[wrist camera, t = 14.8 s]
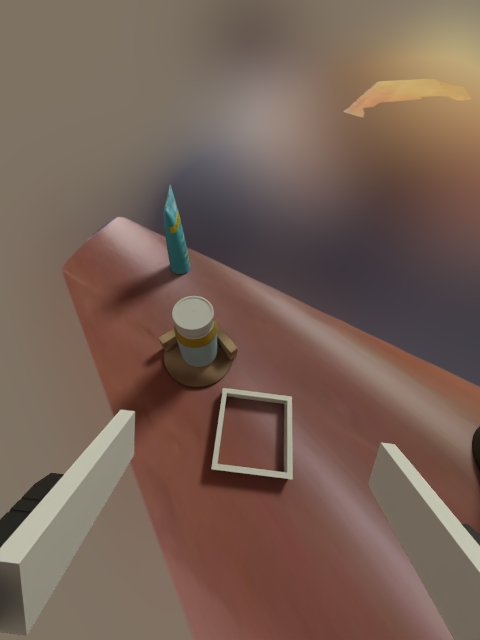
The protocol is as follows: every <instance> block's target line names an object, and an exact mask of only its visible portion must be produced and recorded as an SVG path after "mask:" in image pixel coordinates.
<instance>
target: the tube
mask: <svg viewBox="0 0 480 640" xmlns="http://www.w3.org/2000/svg"><path fill="white" fill-rule="evenodd" d="M164 226H165V235H166V242H167V249H168V255H169V261H170V267H171V270H172V272H174V273H176V274H185V273H187V272H188V271H189V269H190V263H189V257H188V252H187V247H186V243H185V238H184V234H183V229H182V225H181V221H180V216H179V212H178V209H177V205H176V202H175V198H174V195H173V192H172V189H171V185H170V187H169V192H168V195H167V199H166V203H165V207H164Z"/></svg>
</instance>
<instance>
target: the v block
mask: <svg viewBox="0 0 480 640" xmlns="http://www.w3.org/2000/svg"><path fill="white" fill-rule="evenodd" d="M216 325H217V355H216V358H215V360H214V361H213V362H212V363H211V364H210V365H208V366H206V367H203V368H194V367H191V366H189V365H188V364H187V363H186V362H185V361H184V359H183V357H182V354H181V351H180V348H179V345H178V342H177V339H176V336H175V332H174V329H173V330H171V331H169V332H168V333H166V334H164V335H162V336H161V337H159V340H160V342H161V344H162V347H163V348H164V363H165V366H166V369H167V371H168V372H169V374H170V375H171V377H172V378H173V379H174V380H176V381H177V382H179V383H180V384H182V385H185V386H188V387H195V388H199V387H206V386H209V385H212V384H214V383H216V382H218V381H219V380H220V379H222V378H223V377H224V376H225V375H226V374H227V372H228V371H229V369H230V367H231V364H232V361H233V359H234V358H235V357H236V356H237V350H238V348H237V347H236V345H235V344H234V343H233V342H232V341H231V340H230V338H229V337H228V335H227V334H226V333H225V332H224V331H223V330H222V329H221V328H220V327H219V326H218V324H217V323H216Z"/></svg>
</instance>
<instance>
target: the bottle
mask: <svg viewBox="0 0 480 640" xmlns="http://www.w3.org/2000/svg"><path fill="white" fill-rule="evenodd" d="M172 317H173V321H174V324H175V327H174V332H175V336H176V339H177V342H178V345H179V348H180V351H181V354H182V357H183V359H184V361H185V362H186V363H187V364H188V365H189V366H191V367H194V368H203V367H206V366H208V365H210V364H211V363H212V362H213V361H214V360H215V358H216V355H217V325H216V321H215V319H214V310H213V307H212V305H211V303H210V302H209V301H208V300H206V299H205V298H203V297H199V296H188V297H185V298H183V299H181V300H180V301H178V302H177V303H176V305H175V306H174V308H173V312H172Z"/></svg>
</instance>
